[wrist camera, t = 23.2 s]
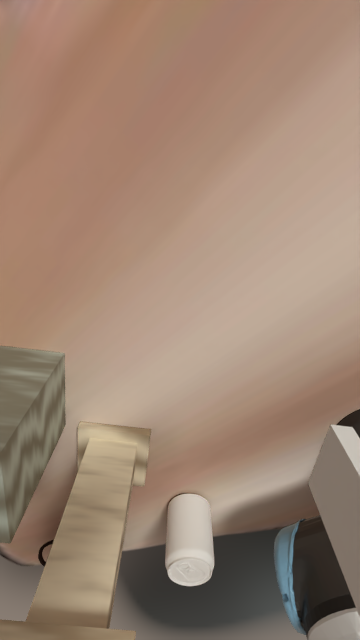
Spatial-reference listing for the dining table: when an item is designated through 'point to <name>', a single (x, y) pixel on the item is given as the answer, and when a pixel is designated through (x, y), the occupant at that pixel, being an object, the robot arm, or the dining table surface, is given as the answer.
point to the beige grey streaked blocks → (83, 504)
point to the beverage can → (189, 540)
